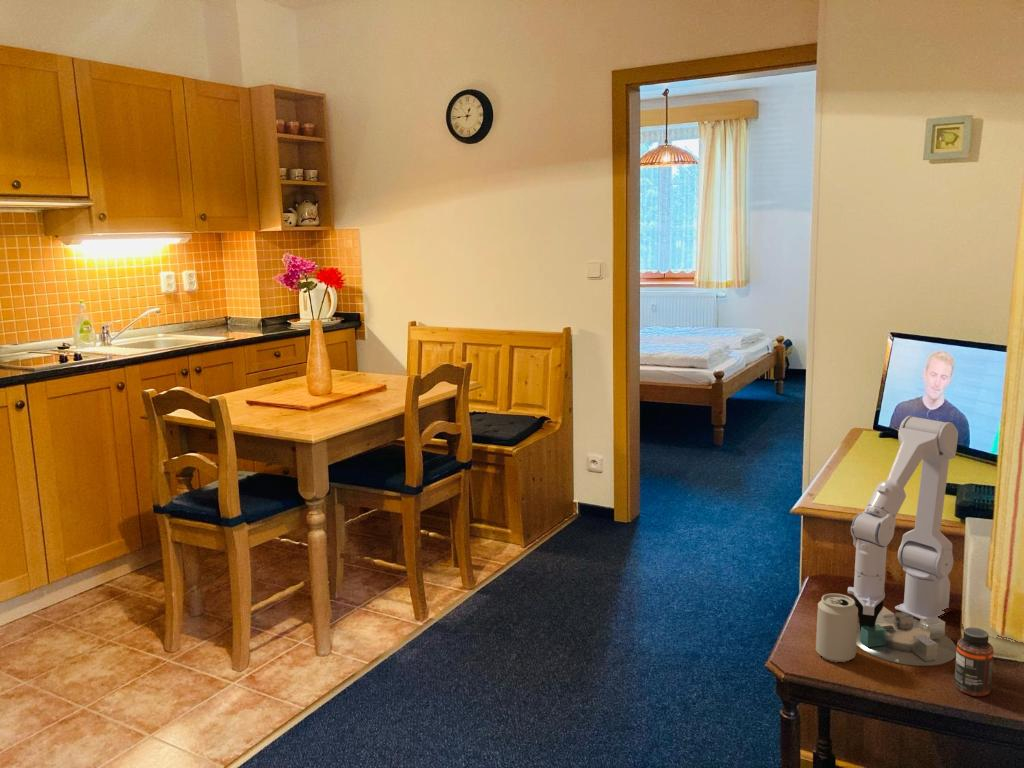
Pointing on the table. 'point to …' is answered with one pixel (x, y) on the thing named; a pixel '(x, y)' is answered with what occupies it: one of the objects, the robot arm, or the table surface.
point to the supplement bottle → (974, 663)
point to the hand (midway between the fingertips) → (866, 632)
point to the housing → (905, 621)
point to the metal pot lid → (904, 635)
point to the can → (836, 627)
